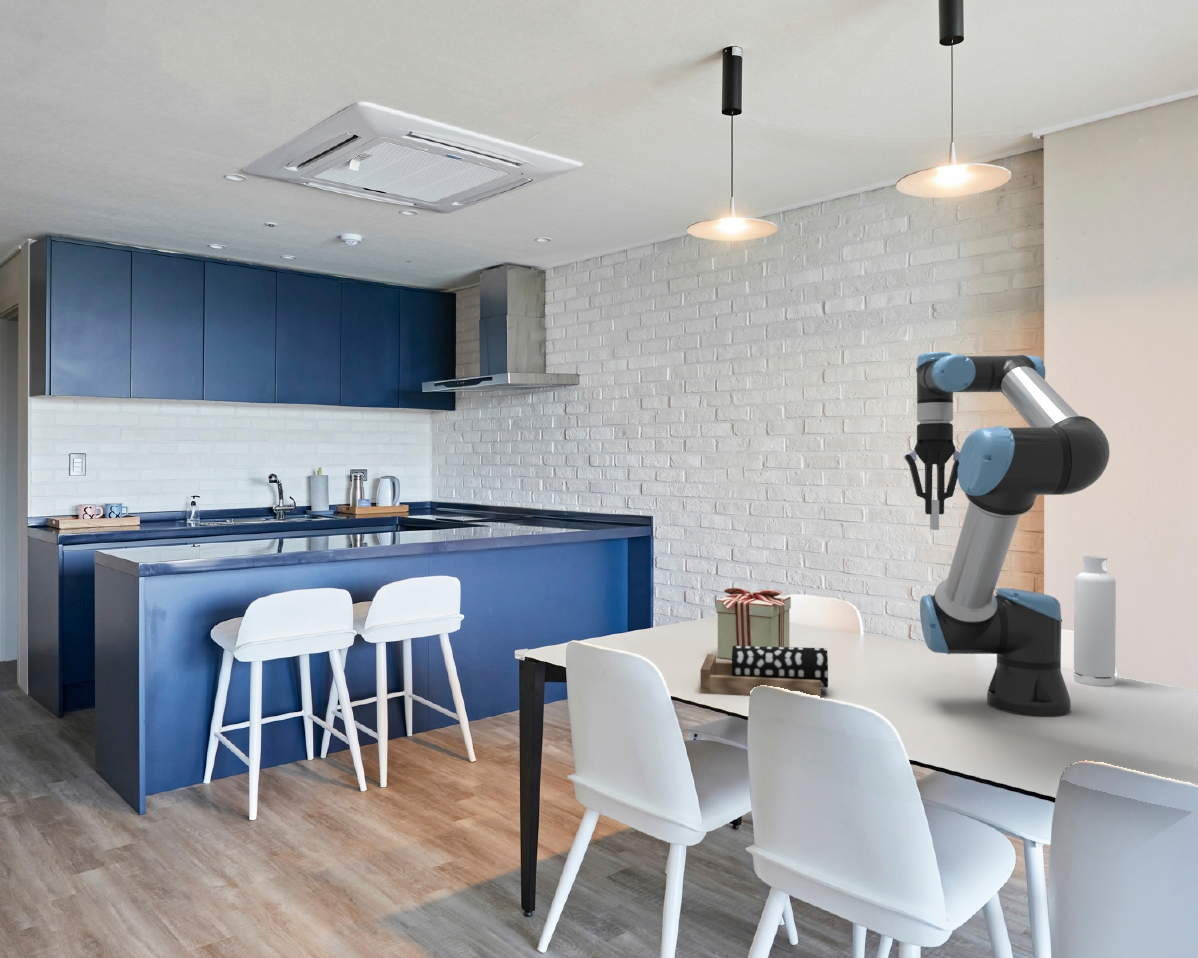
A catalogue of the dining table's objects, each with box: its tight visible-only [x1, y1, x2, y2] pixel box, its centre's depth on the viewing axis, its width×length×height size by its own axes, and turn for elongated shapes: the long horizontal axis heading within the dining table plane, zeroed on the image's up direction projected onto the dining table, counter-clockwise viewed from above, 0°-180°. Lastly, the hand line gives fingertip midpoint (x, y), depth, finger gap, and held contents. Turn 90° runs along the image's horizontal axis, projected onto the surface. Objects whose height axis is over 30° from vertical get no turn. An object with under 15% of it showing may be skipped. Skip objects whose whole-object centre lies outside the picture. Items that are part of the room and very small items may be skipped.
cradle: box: [699, 653, 822, 697], centre depth 195 cm, size 25×16×5 cm, turn 78°
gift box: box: [715, 587, 792, 660], centre depth 226 cm, size 17×18×17 cm
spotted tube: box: [731, 646, 829, 689], centre depth 192 cm, size 8×8×20 cm
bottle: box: [1073, 555, 1117, 687], centre depth 199 cm, size 8×8×28 cm
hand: (934, 529), depth 197 cm, fingers closed
